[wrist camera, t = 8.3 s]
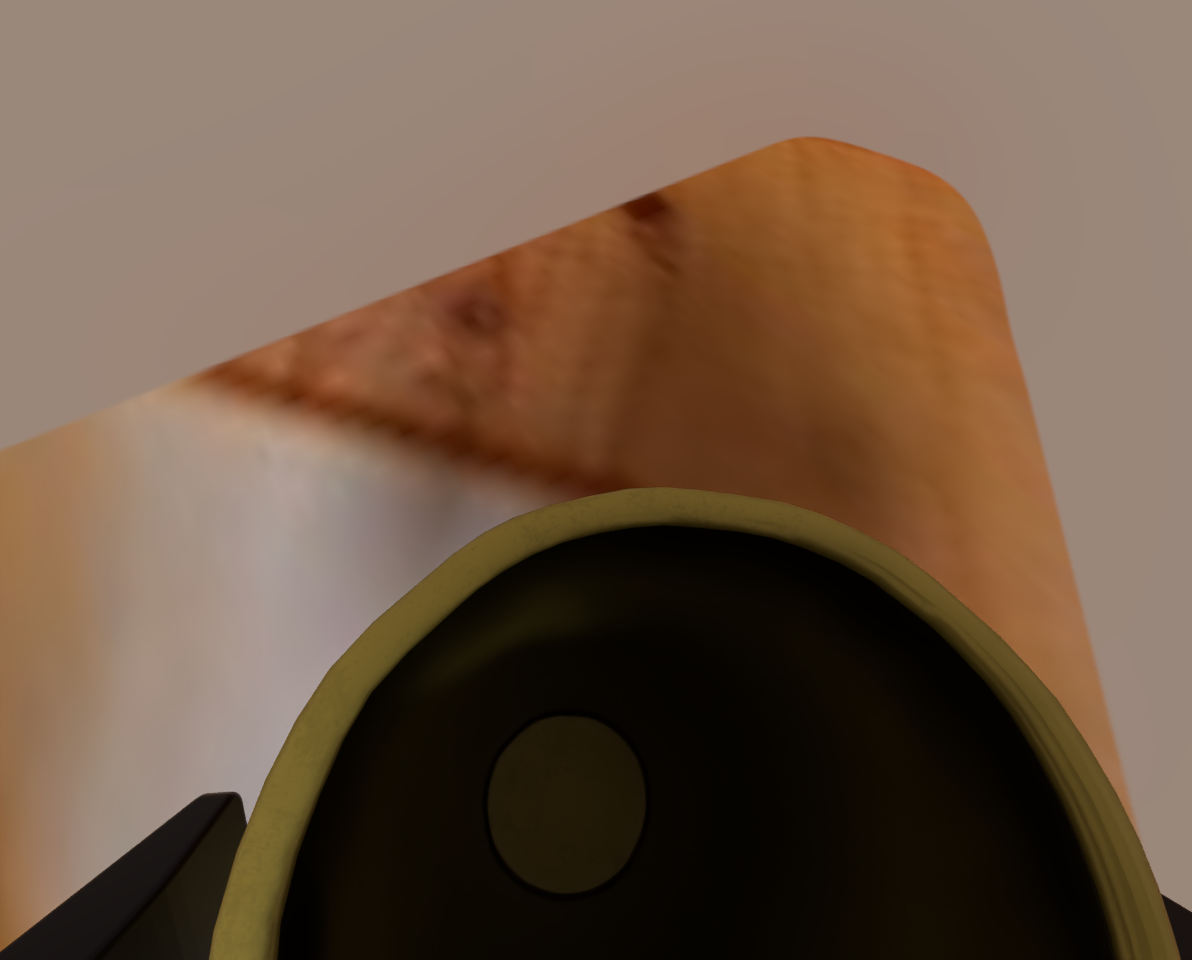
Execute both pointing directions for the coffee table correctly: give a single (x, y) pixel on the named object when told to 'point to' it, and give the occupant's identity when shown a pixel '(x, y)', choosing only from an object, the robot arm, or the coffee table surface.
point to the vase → (686, 763)
